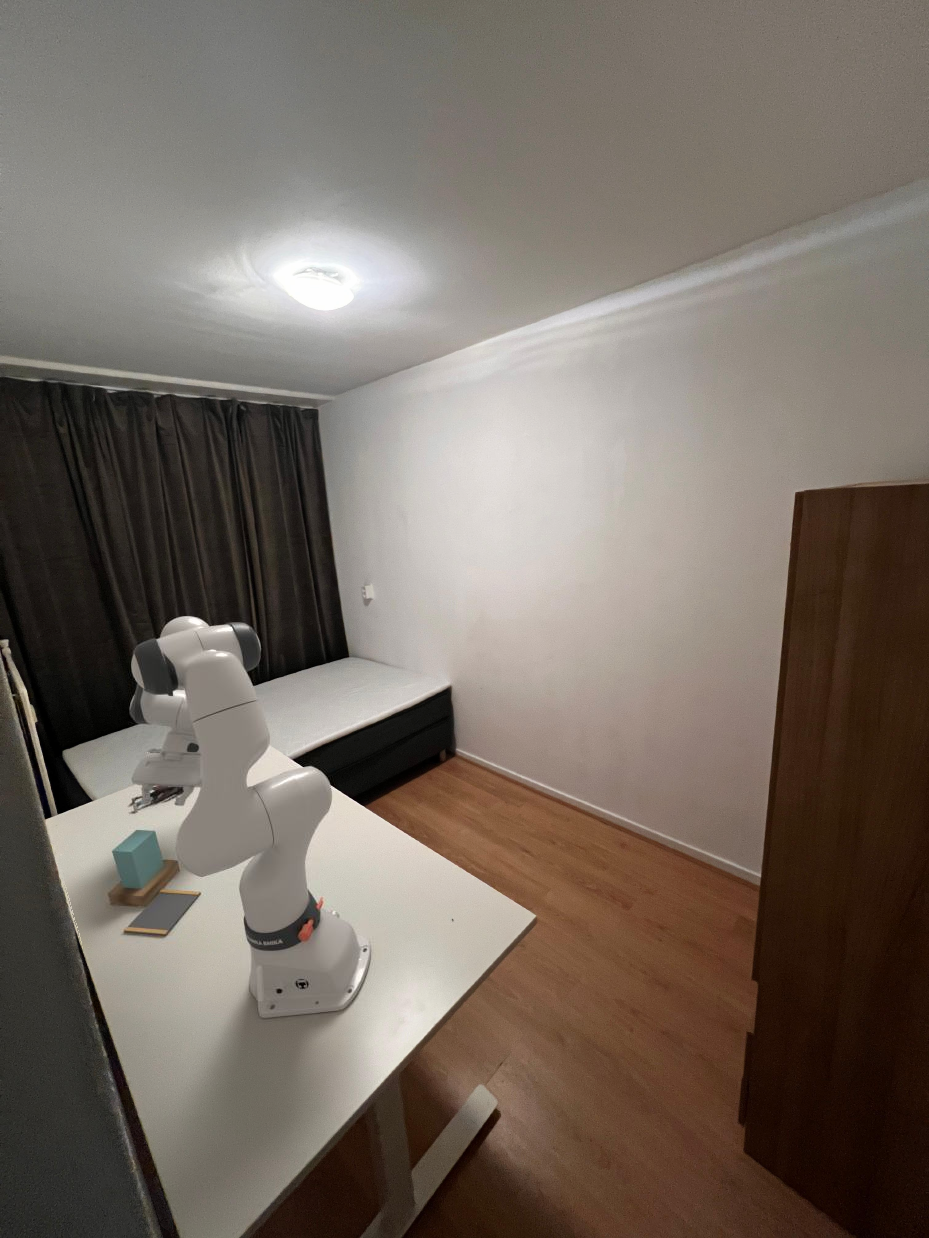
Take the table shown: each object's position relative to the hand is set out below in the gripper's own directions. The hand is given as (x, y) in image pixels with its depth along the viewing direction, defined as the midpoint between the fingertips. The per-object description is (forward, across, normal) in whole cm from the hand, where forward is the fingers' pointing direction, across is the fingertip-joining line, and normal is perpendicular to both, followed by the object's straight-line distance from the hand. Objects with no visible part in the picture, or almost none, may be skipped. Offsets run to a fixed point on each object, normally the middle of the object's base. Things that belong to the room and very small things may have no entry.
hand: (161, 804), depth 120 cm
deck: (+18, 0, +5) cm, 18 cm away
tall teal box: (+16, 0, +2) cm, 16 cm away
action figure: (-6, -23, +30) cm, 38 cm away
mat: (+22, +10, 0) cm, 24 cm away
